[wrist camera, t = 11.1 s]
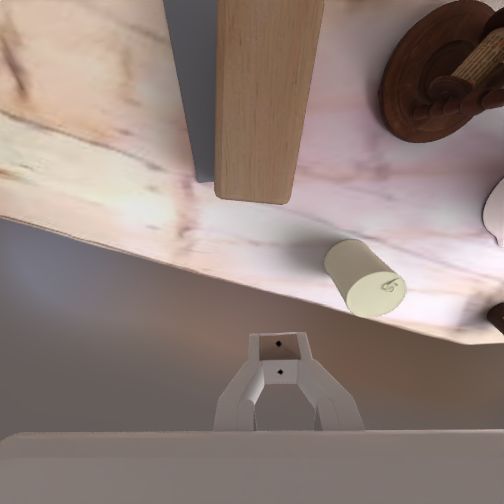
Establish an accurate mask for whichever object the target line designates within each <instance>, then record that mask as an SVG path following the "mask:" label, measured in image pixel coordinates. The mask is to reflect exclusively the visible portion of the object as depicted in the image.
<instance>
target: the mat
mask: <svg viewBox="0 0 504 504" xmlns="http://www.w3.org/2000/svg"><path fill="white" fill-rule="evenodd" d="M163 2H164V7H165V12H166V18H167V23H168V28H169V33H170V39H171V44H172V49H173V54H174V59H175V65H176V70H177V75H178V80H179V85H180V91H181V96H182V101H183V106H184V112H185V117H186V122H187V127H188V132H189V138H190V143H191V148H192V153H193V159H194V164H195V169H196V174H197V179H198V183H202V182H213V181H214V171H215V96H216V22H217V0H163Z"/></svg>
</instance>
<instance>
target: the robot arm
mask: <svg viewBox="0 0 504 504" xmlns="http://www.w3.org/2000/svg"><path fill="white" fill-rule="evenodd" d="M483 221H484V225H485V227H486V228H487V230H488V231H489V232H490V233H492V234H493V235H495V236H496V237H497V241H498V244H499V246H500V247H503V248H504V178H503V179H502V180H501V181H500V182H499V184H498V185H497V186H496V187H495V188H494V190H493V191H492V193H491V194H490V196H489V198H488V200H487V202H486V205H485V208H484V212H483ZM278 383H294V384H295V383H296V384H298V386H299V387H300V389H301V390H302V392H303V393H304V394H305V396H306V397H307V398H308V400H309V401H310V403H311V404H312V406H313V407H314V408H315V410H316V412H315V420H314V429H313V431H257V426H256V418H255V410H254V405H255V403H256V401H257V399H258V397H259V395H260V393H261V391H262V389H263V387H264V384H278ZM0 504H504V430H379V431H378V430H375V431H374V430H369V431H367V430H365V428H364V425H363V422H362V420H361V417H360V414H359V412H358V409H357V406H356V404H355V401H354V398H353V397H352V396H351V395H350V394H349V393H348V392H347V391H346V390H345V389H344V388H343V387H342V386H341V385H340V384H339V383H338V382H337V381H336V380H335V379H334V378H333V377H332V376H331V375H330V374H329V373H328V372H327V371H326V370H325V369H324V368H323V367H322V366H321V365H320V363H319V362H318V361H317V360H313V359H312V355H311V351H310V347H309V343H308V339H307V335H306V333H305V332H301V333H277V334H250V339H249V361H246V362H245V363H244V364H243V366H242V367H241V369H240V370H239V371H238V373H237V374H236V375H235V377H234V378H233V380H232V381H231V382H230V384H229V385H228V387H227V388H226V389H225V391H224V392H223V393H222V395H221V396H220V398H219V399H218V404H217V410H216V416H215V423H214V429H213V431H212V432H210V431H209V432H60V433H57V432H55V433H54V432H53V433H51V432H49V433H17V434H14V435H11V436H9V437H8V438H6V439H4V440H3V441H1V442H0Z"/></svg>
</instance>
